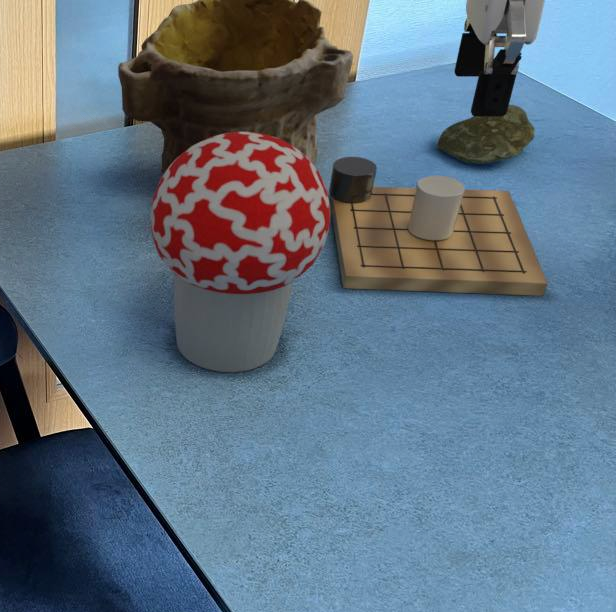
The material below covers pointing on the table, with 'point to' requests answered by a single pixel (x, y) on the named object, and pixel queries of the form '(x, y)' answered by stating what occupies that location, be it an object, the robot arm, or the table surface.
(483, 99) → the robot arm
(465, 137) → the green rock
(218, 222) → the decorative object
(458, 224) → the board
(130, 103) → the ceramic vessel
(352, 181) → the black stone
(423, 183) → the beige cylinder
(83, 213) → the table surface
